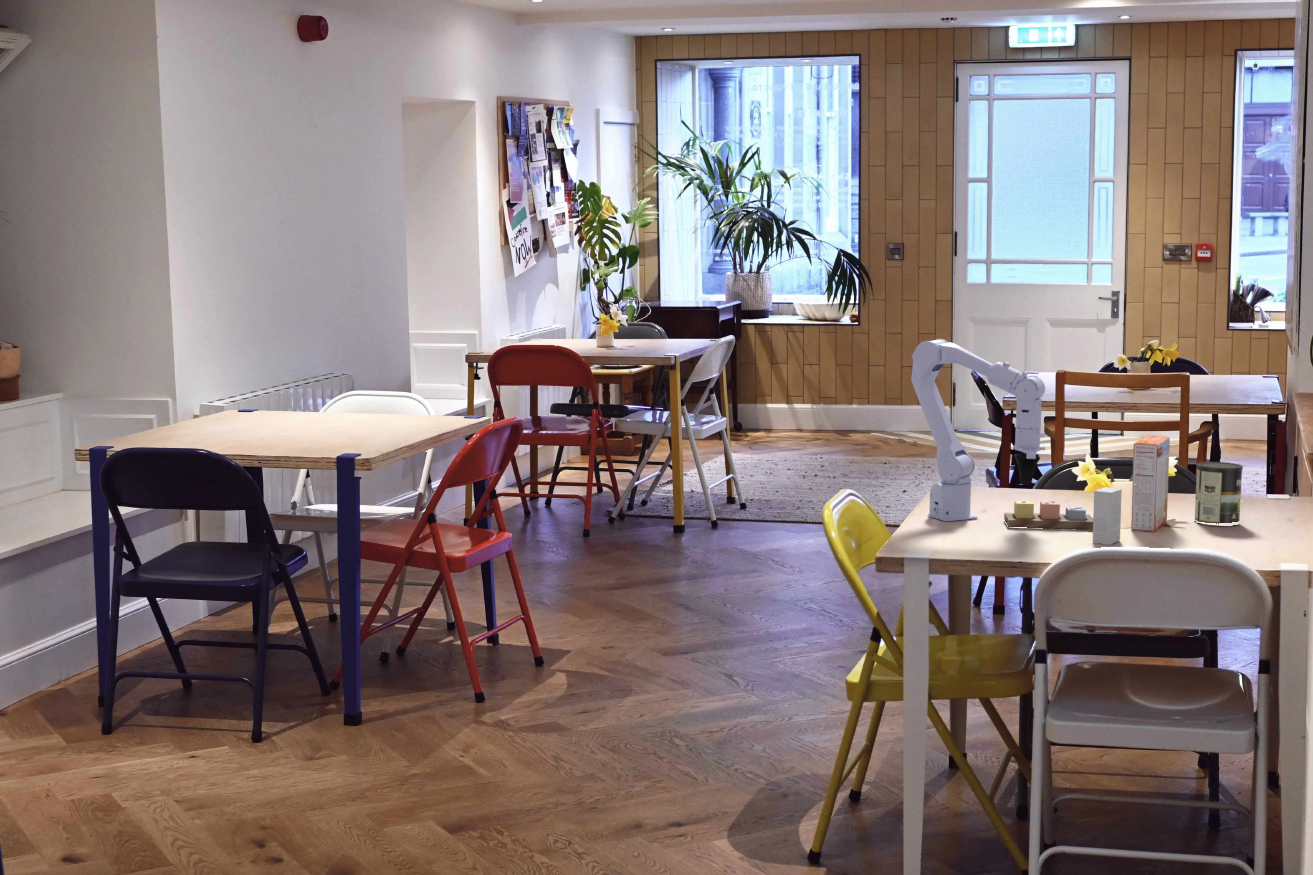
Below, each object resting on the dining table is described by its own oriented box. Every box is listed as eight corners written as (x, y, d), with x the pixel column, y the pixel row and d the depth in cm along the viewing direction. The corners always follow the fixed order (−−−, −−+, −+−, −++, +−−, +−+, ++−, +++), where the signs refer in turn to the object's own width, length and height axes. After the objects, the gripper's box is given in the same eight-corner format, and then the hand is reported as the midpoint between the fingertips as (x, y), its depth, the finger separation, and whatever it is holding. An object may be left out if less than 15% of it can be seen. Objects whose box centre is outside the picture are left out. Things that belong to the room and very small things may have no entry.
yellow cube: (1016, 518, 331) (1016, 502, 330) (1014, 514, 335) (1014, 499, 334) (1033, 518, 330) (1033, 502, 330) (1031, 515, 334) (1031, 499, 333)
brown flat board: (1008, 528, 329) (1008, 519, 328) (1004, 520, 338) (1004, 512, 337) (1095, 530, 326) (1096, 521, 326) (1089, 522, 335) (1089, 514, 335)
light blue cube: (1067, 524, 329) (1068, 508, 329) (1065, 521, 333) (1065, 505, 333) (1085, 525, 329) (1086, 509, 328) (1082, 521, 333) (1083, 506, 332)
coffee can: (1238, 519, 338) (1241, 462, 336) (1241, 528, 328) (1244, 469, 326) (1192, 517, 341) (1195, 460, 339) (1194, 525, 331) (1197, 467, 329)
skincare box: (1101, 538, 317) (1104, 486, 316) (1120, 541, 314) (1122, 488, 313) (1091, 542, 313) (1093, 490, 311) (1109, 545, 310) (1112, 492, 308)
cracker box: (1141, 520, 338) (1145, 434, 335) (1167, 522, 335) (1171, 436, 332) (1128, 530, 326) (1132, 441, 323) (1155, 532, 323) (1159, 443, 320)
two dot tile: (1042, 518, 330) (1042, 502, 329) (1039, 515, 334) (1040, 499, 333) (1059, 519, 329) (1059, 503, 329) (1056, 515, 333) (1057, 500, 333)
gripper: (1050, 432, 322) (1047, 490, 324) (1041, 424, 336) (1038, 479, 338) (1018, 431, 323) (1016, 489, 325) (1011, 423, 337) (1009, 478, 339)
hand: (1025, 484), depth 331 cm, fingers closed
